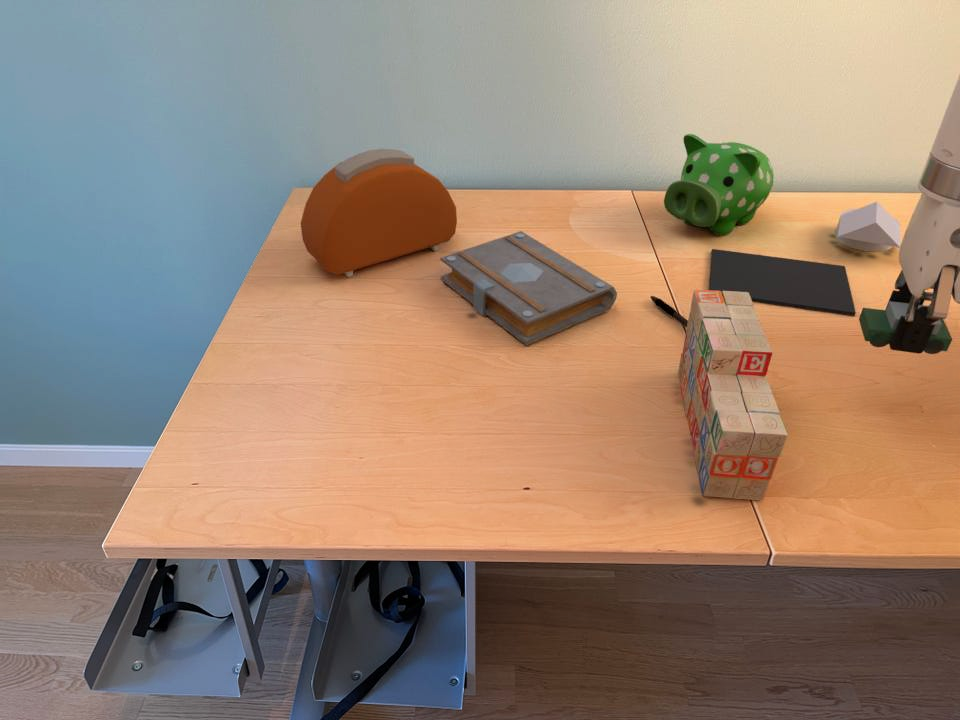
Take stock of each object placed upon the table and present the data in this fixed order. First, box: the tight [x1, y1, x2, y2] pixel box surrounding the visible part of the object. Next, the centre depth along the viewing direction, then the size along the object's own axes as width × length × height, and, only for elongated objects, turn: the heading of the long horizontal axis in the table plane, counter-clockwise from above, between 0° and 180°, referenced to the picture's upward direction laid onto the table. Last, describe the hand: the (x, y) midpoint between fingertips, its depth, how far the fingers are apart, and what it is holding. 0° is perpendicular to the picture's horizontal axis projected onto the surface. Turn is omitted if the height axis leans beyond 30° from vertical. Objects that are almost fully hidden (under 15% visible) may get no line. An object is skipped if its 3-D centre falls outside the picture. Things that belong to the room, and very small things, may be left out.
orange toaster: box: [300, 148, 458, 278], centre depth 108 cm, size 23×9×17 cm, turn 123°
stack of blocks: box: [677, 289, 788, 501], centre depth 76 cm, size 21×6×12 cm, turn 174°
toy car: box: [858, 300, 953, 355], centre depth 76 cm, size 8×4×4 cm
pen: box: [650, 295, 688, 328], centre depth 96 cm, size 14×2×1 cm, turn 26°
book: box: [439, 230, 618, 346], centre depth 101 cm, size 21×16×5 cm
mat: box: [708, 248, 857, 317], centre depth 106 cm, size 20×14×1 cm
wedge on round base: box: [834, 201, 902, 253], centre depth 114 cm, size 9×7×13 cm
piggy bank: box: [663, 133, 775, 237], centre depth 118 cm, size 14×18×15 cm
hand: (901, 335), depth 76 cm, fingers closed on toy car, 4 cm apart
